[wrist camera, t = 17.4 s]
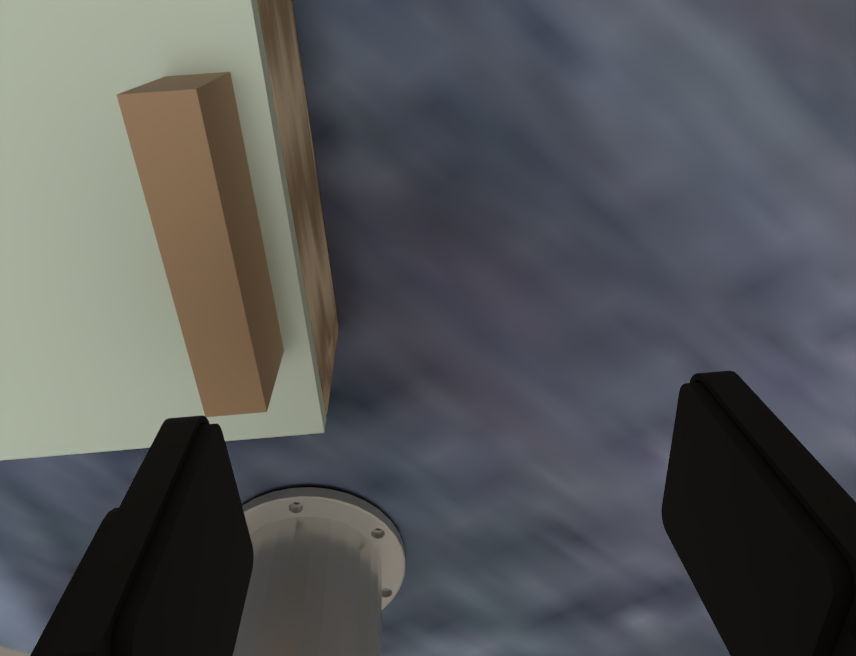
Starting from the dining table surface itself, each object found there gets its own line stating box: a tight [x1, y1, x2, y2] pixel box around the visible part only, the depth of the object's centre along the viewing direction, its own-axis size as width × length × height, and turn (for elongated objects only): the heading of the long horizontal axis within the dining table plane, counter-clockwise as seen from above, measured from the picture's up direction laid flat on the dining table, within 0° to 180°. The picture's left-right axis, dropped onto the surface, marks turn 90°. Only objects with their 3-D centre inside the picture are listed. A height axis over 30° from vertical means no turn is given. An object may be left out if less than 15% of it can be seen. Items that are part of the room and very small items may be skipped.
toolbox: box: [257, 0, 339, 414], centre depth 26 cm, size 18×18×8 cm
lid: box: [0, 0, 326, 460], centre depth 20 cm, size 18×18×5 cm
